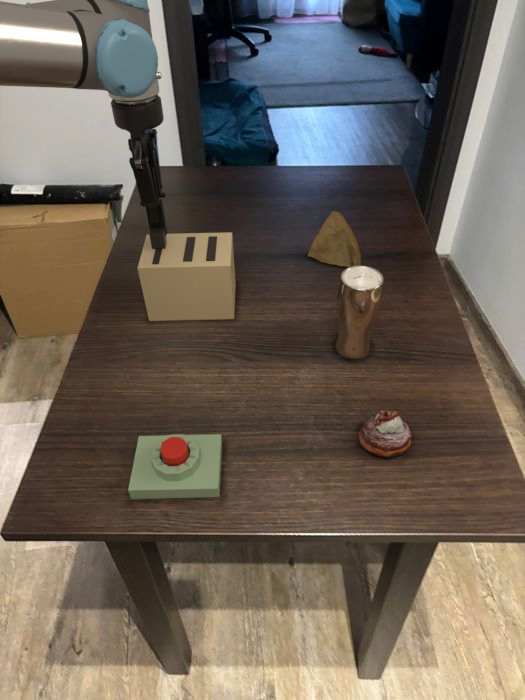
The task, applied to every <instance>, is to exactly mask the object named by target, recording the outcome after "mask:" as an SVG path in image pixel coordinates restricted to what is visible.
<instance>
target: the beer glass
mask: <svg viewBox="0 0 525 700" xmlns="http://www.w3.org/2000/svg"><path fill="white" fill-rule="evenodd" d="M383 285H384V276H383V274H382V273H381V272H380V271H379V270H378V269H376V268H374V267H372V266H367V265H360V266H352V267H349V268H348V267H346V268H345V269H344V270H343V271H342V273H341V275H340V281H339V285H338V290H337V298H336V299H337V301H336V308H337V309H336V310H337V320H338V335H337V337H336V339H335V344H334V348H335V351H336V352H337V354H338V355H339V356H341V357H342V358H345V359H349V360H360V359H363V358H366V357H367V356H368V355H369V354H370V351H371V340H370V339H371V338H370V337H371V333H372V329H373V327H374V324H375V322H376V320H377V317H378V315H379V312H380V309H381V304H382V297H383Z"/></svg>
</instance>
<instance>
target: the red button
mask: <svg viewBox="0 0 525 700" xmlns="http://www.w3.org/2000/svg"><path fill="white" fill-rule="evenodd" d="M160 451H161V455H162V459H163V461H164V462H165V463H166V464H168V465H170V466H177V465H180V464H182V463H183V462H185V461H186V459H187V457H188V448H187V443H186V442H185V440H184V439H182V438H180V437H171V438H168V439H166V440H165V441H164V442H163V443H162V445H161V448H160Z"/></svg>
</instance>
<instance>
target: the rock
mask: <svg viewBox="0 0 525 700" xmlns="http://www.w3.org/2000/svg"><path fill="white" fill-rule="evenodd" d="M307 257H308V258H313V259H315V260H316V261H318V262H320V263H324V264H328V265H334V266H338V267H346V268H349V267H352V266H362V254H361V251H360V247H359V243H358V241H357V239H356V236H355V234H354V231H353V229H352V227H350V226H349V224H348V221H347V220H346V219H345V218H344V215H343V214H342V213H341V212H339V211H335V210H333V211H332V212H331V213H330V214H329V215H328V217H327V218H326V219H325V221H324V222H323V223H322V226H321V228H320V229H319V231H318V233H317V234H316V236H315V237H314V239H313V241H312V244H311V246H310V248H309V251H308V253H307Z"/></svg>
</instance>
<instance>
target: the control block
mask: <svg viewBox="0 0 525 700" xmlns="http://www.w3.org/2000/svg"><path fill="white" fill-rule="evenodd" d="M171 437H180V438H182V439H184V440H185V442H186V443H187V448H188V457H187V459H186V461H185V462H183V463H182V464H180V465H177V466H170V465H168V464H166V463H165V462H164V461H163V459H162V455H161V451H160V448H161V445H162V443H163V442H164V441H165V440H166V439H168V438H171ZM222 456H223V438H222V434H221V433H217V434H215V433H214V434H183V433H181V434H175V433H174V434H169V435H167V434H166V435H165V434H164V435H138V439H137V443H136V447H135V454H134V457H133V463H132V467H131V474H130V478H129V484H128V489H127V492H128V494H129V498H130V500H150V499H152V500H153V499H196V498H199V499H201V498H220V496H221V494H220V493H221V476H222V475H221V474H222V460H223V459H222Z"/></svg>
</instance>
